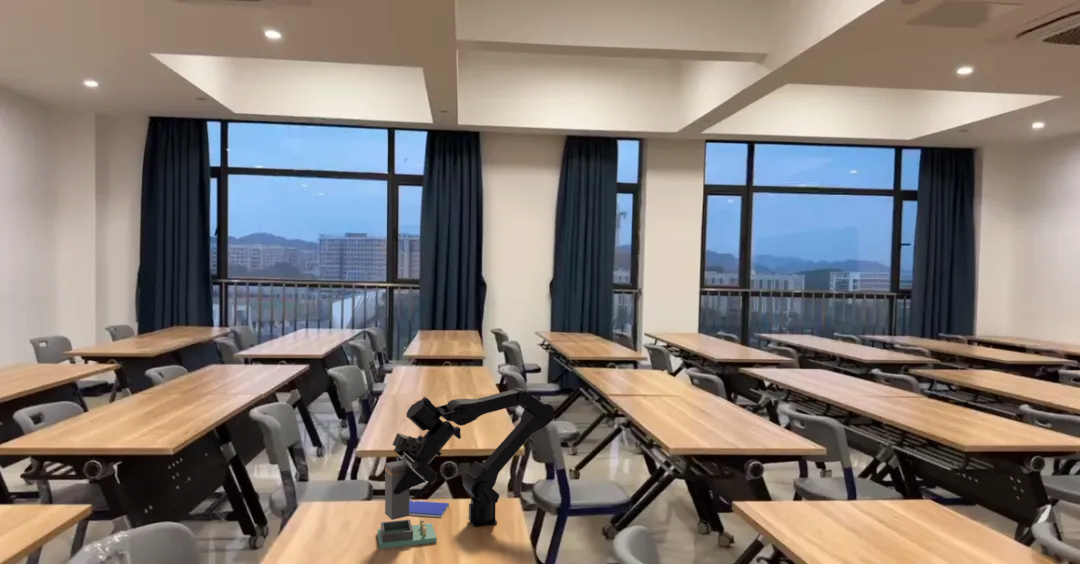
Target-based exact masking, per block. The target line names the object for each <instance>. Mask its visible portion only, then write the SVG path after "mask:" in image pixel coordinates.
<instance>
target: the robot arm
mask: <svg viewBox="0 0 1080 564" xmlns="http://www.w3.org/2000/svg"><path fill="white" fill-rule="evenodd" d="M518 405H519V406H520V407H521V408H522V409H524V410H523V411H522V414H521V417H520V421H519V423H518V424H516V426H515V427H514V428H513V429H512V430H511V432H510V433H509V434H508V435H507V436H506V437H505V439H504V440H503V441H502V442H501V443H500V444H499V445H497V446H498V447H496V448H495V450H494V451H493V452H492V453H491V454H490V455H489V456H488V458H487V459H486V460H485V461H483V462H481V463H479V462H478V461H476V460H475V461H473V463H472V464H471V466H470V467H469V468H468V469H467V470H465V471H464V473H465V475H463V478H462V485H463V488H464V489H465V491H467V492H468V495H470V496H471V497H470V503H469V504H468V519H469V521H470V523H471V525H472V526H473V527H482V526H491V525H498V521H497V519H496V503H498V502H499V498H500V494H499V493H498V492H497V491H496V490H495V489H494V487H495V485H496V482H497V479H498V476H499V474H500V472H501V471H502V470H503V468H504V467H505V466H506V465H507V464H508V463H509V461H510V460H511V459H512V458H513V457H514V456H515V455H516V454H517V452H518V451H519V450H520V449H521V448H522V447H523V445H524V444H525V443H526V442H527V441H528V440H529V438H530V437H531V436H532V435H533V434H535V433H536V432H538V431H541V430H544V428H546V427H547V426H548V425H550V423H551V422H553V420H554V418H555V409H554V407H553V406H552V405H551V404H550V403H547V402H545V401H542V400H540V399H537V398H536V397H534V396H533V395H531V394H530V393H529V392H528V391H527V390H526V389H522V388H520V387H515V388H513V389H510V390H506V391H503V392H499V393H495V394H492V395H487V396H486V395H485V396H483V397H482V396H481V397H479V398H457V399H451V400H450V401H448V402H447V403H446V404H443V405H440V406H435V405H434V404H433V403H432V401H431V400H430V399H428V397H426V396H423V397H422V398H421V399H419V400H418V401H415V403H414V404H412V405H410V407H408V409H407V412H406V418H407V419H409V420H410V421H411V422H412V423H413V424H414V425H415V426H416V427H418V429H420V430H421V431H427V432H426V433H425V434H424V435H423V436H422V435H421V434H420V435H418V436H417V437H414V436H413V437H412V436H411V435H404V434H402V433H399V432H397V433H396V435H395V438H394V440H393V442H392V446H394V447H395V448H394V449H393V451H394V452H395V453H396V454H398V455H396V456H395V458H396V461H401V460H403V461H404V462H405V463H407V464H408V465H409V466H407V465H406V474H405V475H404V477H403V478H402V480H401V481H400V482H399V484H398V485H397V487H396V488H395V490H394V493H395V494H396V495H397V494H399V493H401V492H403V491H406V490H408V489H409V490H410V489H411V488H414V487H416V486H418V485H420V484H421V485H422V484H425V483H426V482H428V484H430V485H433V484H434V483H435V482H436V481H437V479H438V477H437V476H438V475H437V472H435V470H433V469H432V468H431V464H430V463H431V462H432V461H433V460H434V459H435V457H436V456H438V457H440V456H441V455H442V452H441V451H442V449H443V448H444V446H445V445H446V444H447V443H448V442H449V441H450V440H451V438H452V437H455V438H456V439H458V440H460V439H461V438H462V437H461V436H462V435H461V430H462V428H461V427H459V426H465V425H468V424H470V423H472V422H474V421H475V420H477V419H479V417H482V416H483V415H486V414H489V413H492V412H496V411H501V410H504V409H508V408H511V407H515V406H518ZM441 418H442V419H444V420H445V421H443V420H442V419H441ZM451 422H453V423H454V424H456V425H457V426H454V425H453V424H452V423H451Z"/></svg>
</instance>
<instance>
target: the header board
mask: <svg viewBox="0 0 1080 564" xmlns="http://www.w3.org/2000/svg"><path fill="white" fill-rule="evenodd" d="M419 522H420V524H412V522H411V519H410V518H409V519H401V520H391V521H390V520H389V521H381V522H380V528H378V529H376V530H377V531H376V532H377V533H376V534H377V541H378V549H379V550H384V549H393V548H401V547H409V546H418V545H427V544H434V543H437V540H438V538H437V535H436V532H435V528H434V526H433V524H432V523H431V522H430V523H425V519H420V520H419Z"/></svg>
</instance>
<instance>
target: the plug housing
mask: <svg viewBox="0 0 1080 564" xmlns="http://www.w3.org/2000/svg"><path fill="white" fill-rule="evenodd" d="M406 465H407V466H409V465H408V464H407V463H405V462H404V461H403V460H401V461H397V460H396V461H390V462H385V463H384V474H385V475H384V491H385V492H384V500H385V501H384V508H385V509H384V514H385V515H386V516H387V517H388V518H389V519H390V520H391V521H395V520H397V519H401V518H407V517H409V516H410V515H409V500H410V489H408V490H406V491H403V492H401V493H399V494H397V495H396V494H395V493H394V490H395V488H396V487H397V485H398V484H399V482H400V481H401V480H402V478H403V477H404V475H405V474H406Z"/></svg>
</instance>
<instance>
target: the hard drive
mask: <svg viewBox="0 0 1080 564" xmlns="http://www.w3.org/2000/svg"><path fill="white" fill-rule="evenodd" d="M413 501H415V502H413ZM449 507H450V502H449V503H448V502H438V501H437V502H435V501H421V500H410V499H409V516H418V517H430V518H442V517H443V516H444V515H445V513H446V512H447V510H448V509H447V508H449Z"/></svg>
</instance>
